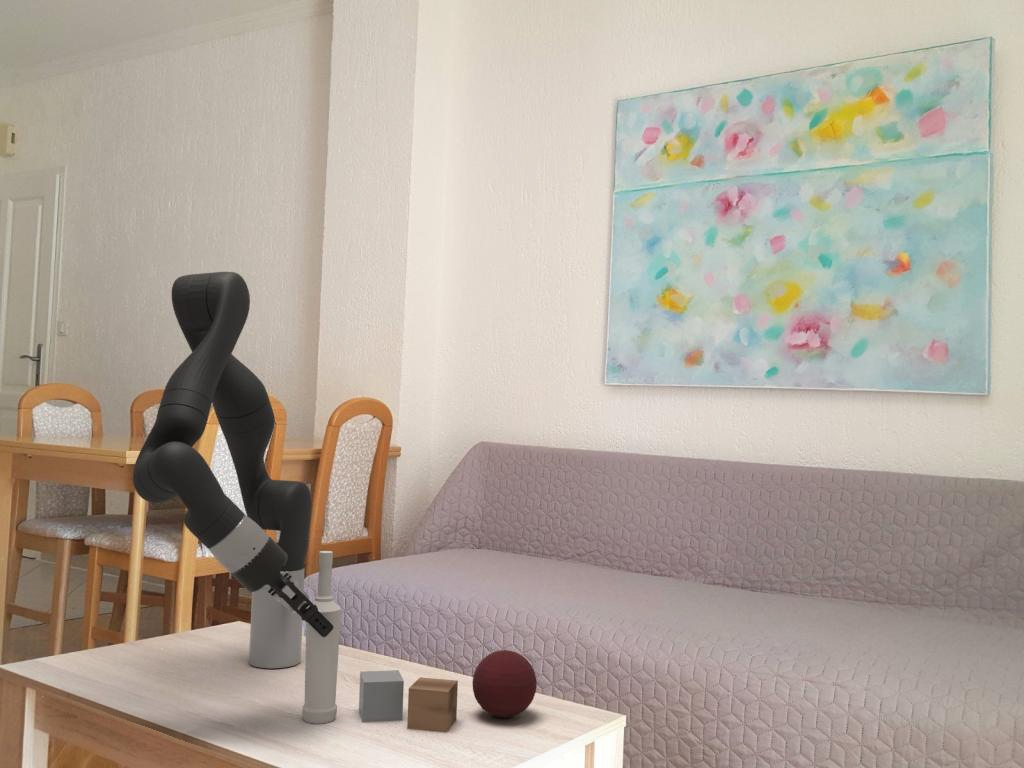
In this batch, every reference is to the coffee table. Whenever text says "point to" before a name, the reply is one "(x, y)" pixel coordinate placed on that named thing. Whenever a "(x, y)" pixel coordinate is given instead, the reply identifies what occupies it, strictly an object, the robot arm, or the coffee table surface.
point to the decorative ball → (504, 684)
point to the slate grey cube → (381, 696)
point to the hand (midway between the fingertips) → (321, 626)
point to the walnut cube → (432, 704)
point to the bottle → (322, 652)
